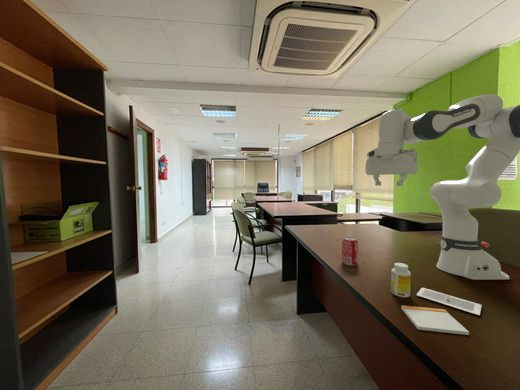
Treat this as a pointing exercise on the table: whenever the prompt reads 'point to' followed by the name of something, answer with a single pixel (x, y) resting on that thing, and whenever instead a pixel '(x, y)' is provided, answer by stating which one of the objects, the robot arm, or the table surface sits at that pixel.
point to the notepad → (433, 320)
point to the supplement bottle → (400, 280)
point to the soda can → (350, 251)
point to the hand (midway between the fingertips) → (388, 185)
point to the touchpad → (450, 300)
